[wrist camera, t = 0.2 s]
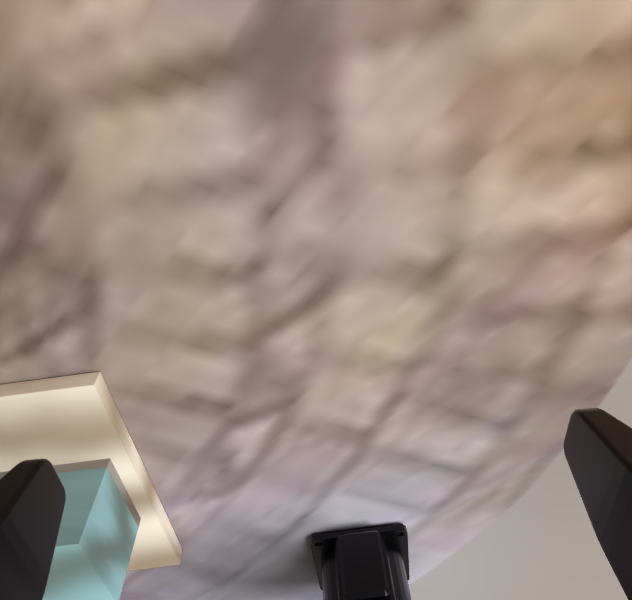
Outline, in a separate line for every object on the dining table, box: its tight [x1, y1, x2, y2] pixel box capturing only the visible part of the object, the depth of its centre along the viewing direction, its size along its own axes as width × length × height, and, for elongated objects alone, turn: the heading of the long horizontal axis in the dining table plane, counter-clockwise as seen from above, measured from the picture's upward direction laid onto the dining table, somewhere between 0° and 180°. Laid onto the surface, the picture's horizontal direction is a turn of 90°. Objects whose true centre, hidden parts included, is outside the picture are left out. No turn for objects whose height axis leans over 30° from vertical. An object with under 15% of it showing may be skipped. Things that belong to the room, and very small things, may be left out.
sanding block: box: [0, 458, 141, 600], centre depth 27 cm, size 6×9×5 cm, turn 97°
